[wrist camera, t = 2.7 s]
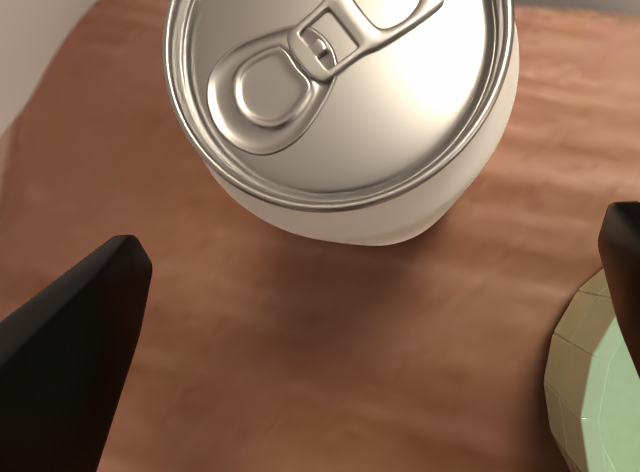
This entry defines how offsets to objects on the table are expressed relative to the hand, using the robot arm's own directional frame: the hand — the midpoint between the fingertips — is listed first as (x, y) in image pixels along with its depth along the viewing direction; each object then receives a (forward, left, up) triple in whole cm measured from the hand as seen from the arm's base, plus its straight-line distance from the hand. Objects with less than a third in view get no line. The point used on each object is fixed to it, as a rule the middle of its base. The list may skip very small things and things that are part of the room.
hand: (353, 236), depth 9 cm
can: (+2, -2, -10) cm, 11 cm away
